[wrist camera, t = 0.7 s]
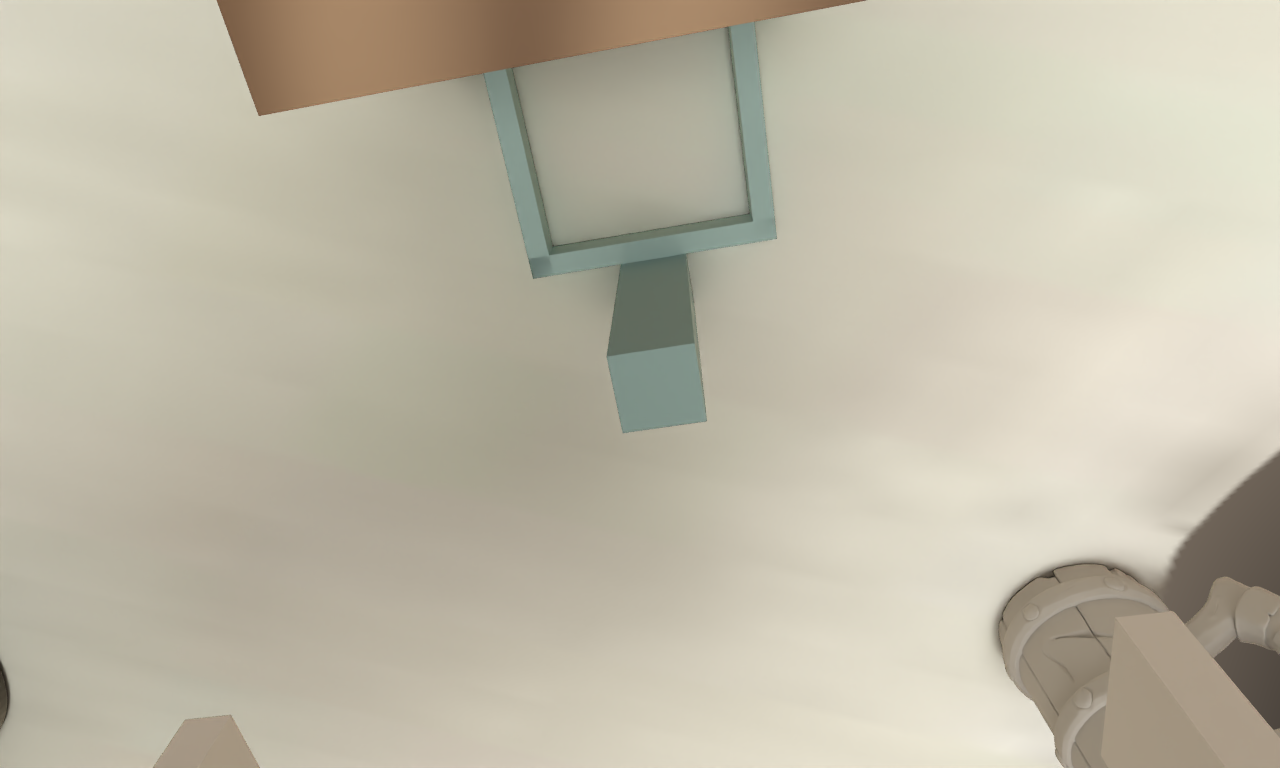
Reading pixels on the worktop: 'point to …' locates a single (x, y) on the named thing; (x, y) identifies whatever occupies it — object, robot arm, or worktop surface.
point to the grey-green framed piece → (647, 257)
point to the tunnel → (447, 38)
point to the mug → (1106, 643)
